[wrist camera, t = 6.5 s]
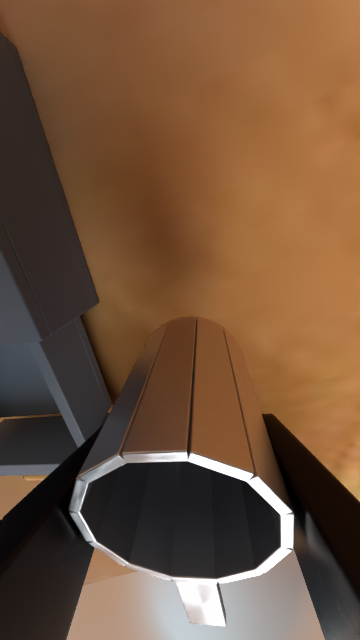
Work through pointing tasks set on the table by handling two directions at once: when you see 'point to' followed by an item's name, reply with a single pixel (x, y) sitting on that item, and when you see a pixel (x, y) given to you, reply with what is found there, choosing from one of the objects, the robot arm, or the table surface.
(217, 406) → the measuring cup
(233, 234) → the table surface
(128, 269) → the table surface
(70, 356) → the drawer
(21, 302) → the cabinet
